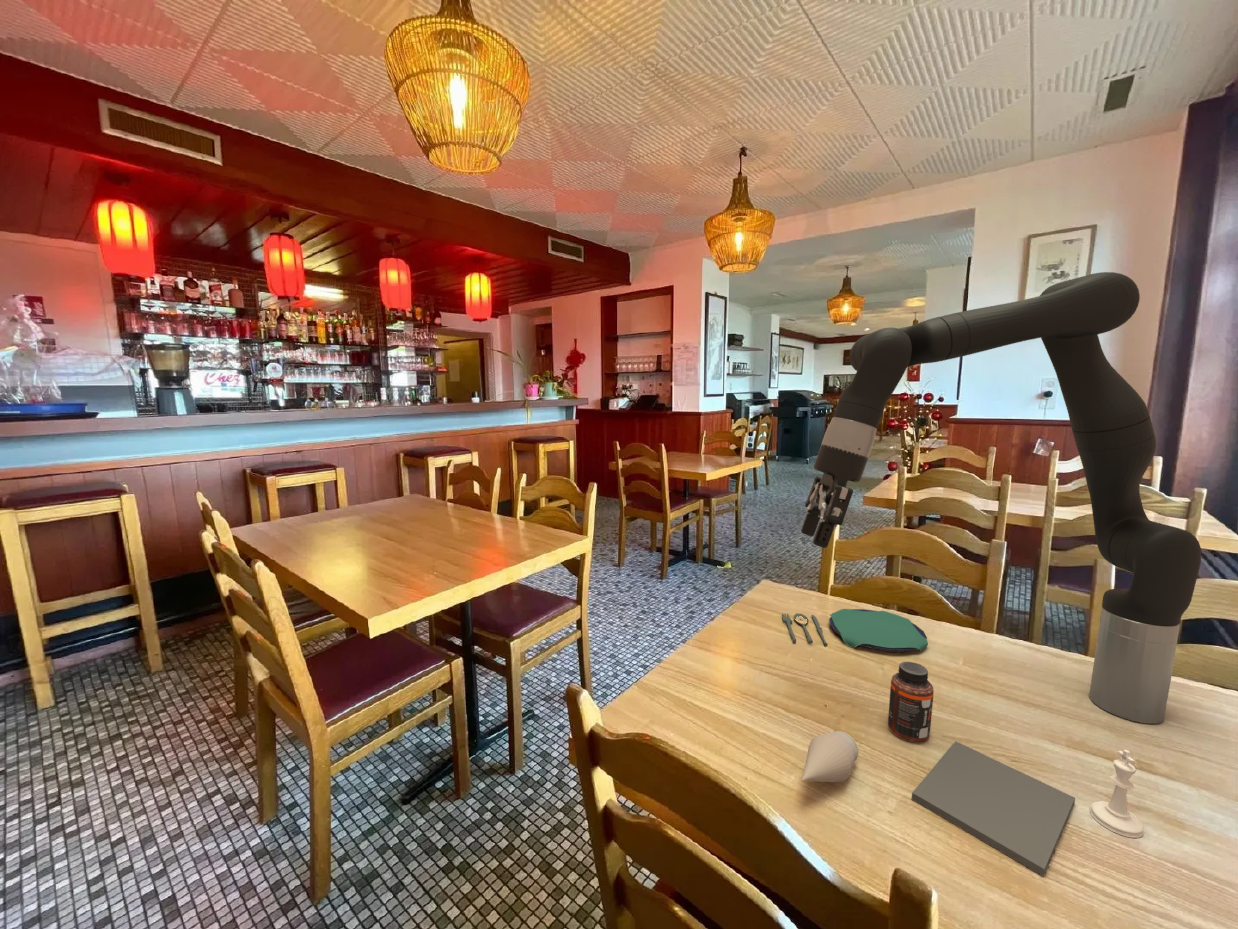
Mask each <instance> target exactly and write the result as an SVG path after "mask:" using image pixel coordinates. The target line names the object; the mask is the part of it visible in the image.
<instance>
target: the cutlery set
mask: <svg viewBox="0 0 1238 929" xmlns="http://www.w3.org/2000/svg"><path fill="white" fill-rule="evenodd" d="M781 615H782V616H781V618H782V621H783V622H782V623H783V624H784V623H785V625H786V626H787V627H788V628H787V630H788V632H789V635H790V638H791V640H792V643H793V644H796V643H797V639H796V636H795V633H794V631H793V629H792V625H793V620H792V619H791V617H790V615H789V613H784V612H783V613H781ZM797 616H798V617H799V616H802V617H803V618H804V619H807V623H806V624H805V623H800V622H799V621H798V622H797V621H796V620H795V619H796V617H797ZM829 616H830V617H829V618H828V619H829V626H830V627H831V629H832V630H834V632H835V633H837V634H838V635H839V636H840V637H841V638H842V640H843V643H845V644H846V645H847V646H848V645H849V646H848V647H850V646H851V647H850V648H854V649H855V648H856V647H857V646H863V647H866V648H870V649H873V650H879V651H885V652H886V651H887V652H910V651H916V650H917V651H918V652H921V651H923V650H924V649H926V648H927V647H928V646H929V642H928V637H927V635H926V633H925V631H924V630H923V629H922V628H920V627H919V626H917V625H916V624H915V623H913V622H912V621H911V620H910V619H909V618H906V617H903V616H902V615H899V614H895V613H892V612H889V611H885V610H873V609H864V608H862V609H861V608H856V609H855V608H853V609H852V608H851V609H849V608H841V609H838V610H837V611H835V612H831V614H829ZM810 617H811V618H812V621H813V623H814V625H815V627H816V631H817V634H819V635H820V637H821V639H822V642H823V646H824V647H828V643H827V641H826V639H825V636H824V634H823V629H822V628H823V627H821V626H820V622H819V621H818V618H817V616H815V615H814V614H811V616H810ZM793 619H794V622H796V623H797V624H798V623H799V625H800V626H801V627H802V628H803V631H804V632H805V635H806V638H807V641H808V644H813V642H814V640H813V639H812V637H811V634H810V632H809V631H808V628H807V627H806V626H805V625H807V624H809V618H808V617H807V616H806V615H804V614H802V613H797V612H796V613H795V614H794V615H793ZM816 631H815V632H816Z"/></svg>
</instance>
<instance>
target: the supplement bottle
mask: <svg viewBox="0 0 1238 929" xmlns="http://www.w3.org/2000/svg"><path fill="white" fill-rule="evenodd" d="M928 678H929V670H928V668H926V667H925V666H924V665H922V664H920V663H917V662H915V661H914V662H913V661H902V662H900V663H899V665H898V671H897V672H896V673H894V674H893V675H892V676H891V680H890V687H889V688H890V692H889V702H888V703H889V705H888V714H887V716H888V717H887V726H888V728H889V730H890V731H891V732H892V733H893V734H894V735H895V736H896V737H898V738H900V739H902V740H905V741H908V742H911V743H925V742H926V741H928V740H929V739H930V734H931V727H932V714H933V702H934V692H935V691H934V689H935V688H934V685H933V684H932V683H931V682H930V681H929V680H928Z"/></svg>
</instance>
